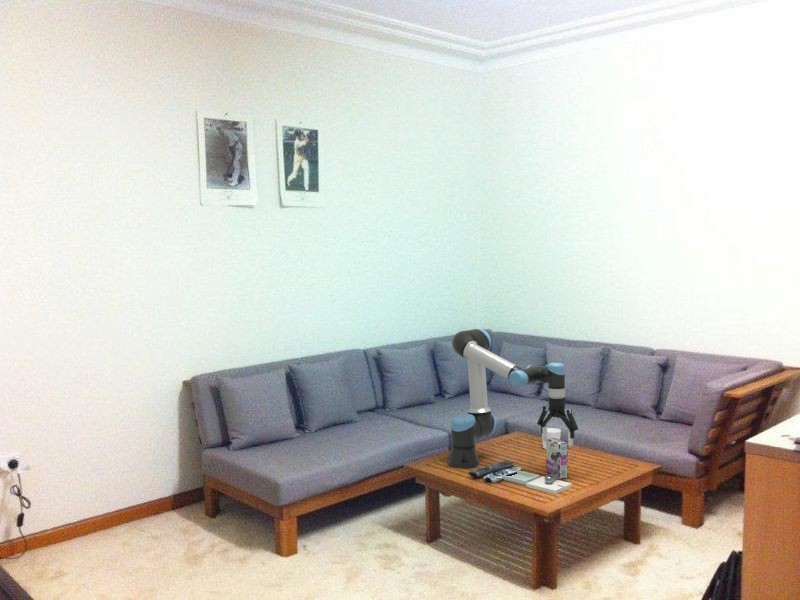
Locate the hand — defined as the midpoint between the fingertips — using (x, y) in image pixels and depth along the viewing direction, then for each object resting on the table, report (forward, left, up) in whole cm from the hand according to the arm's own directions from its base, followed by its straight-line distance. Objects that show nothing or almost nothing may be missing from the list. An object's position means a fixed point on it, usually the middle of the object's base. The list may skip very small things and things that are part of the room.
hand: (557, 443), depth 331 cm
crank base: (+6, -16, -15) cm, 23 cm away
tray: (-11, -16, -15) cm, 25 cm away
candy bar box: (0, 0, -16) cm, 16 cm away
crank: (+5, -12, -13) cm, 19 cm away
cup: (-27, +37, -15) cm, 49 cm away
